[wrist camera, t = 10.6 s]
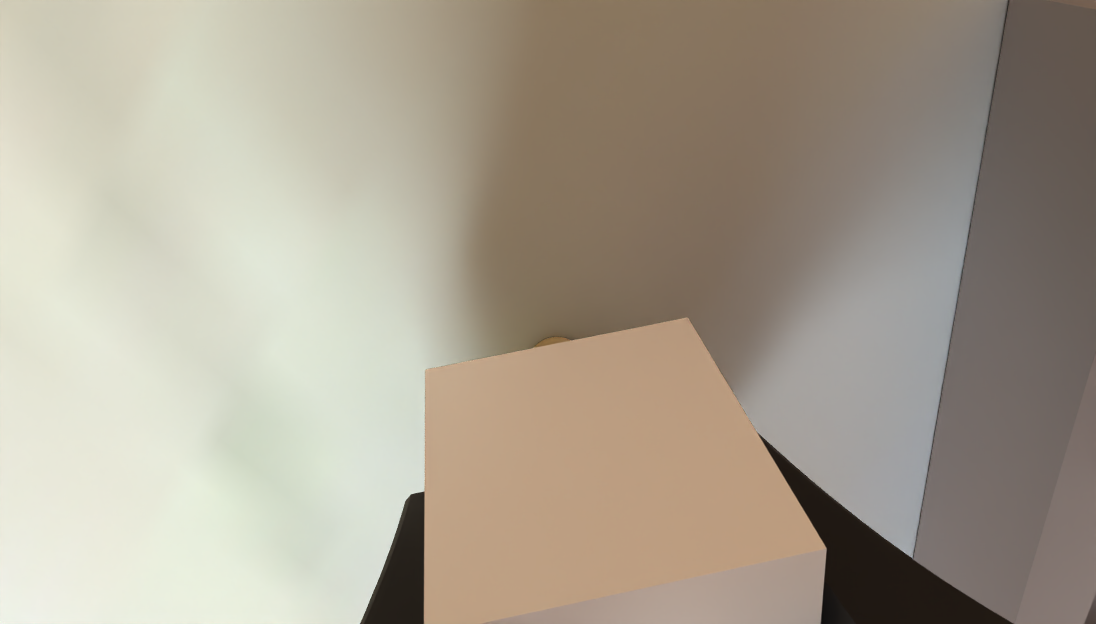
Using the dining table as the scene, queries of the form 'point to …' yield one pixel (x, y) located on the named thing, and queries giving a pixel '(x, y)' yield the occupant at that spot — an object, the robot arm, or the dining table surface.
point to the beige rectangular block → (608, 491)
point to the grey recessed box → (1025, 341)
